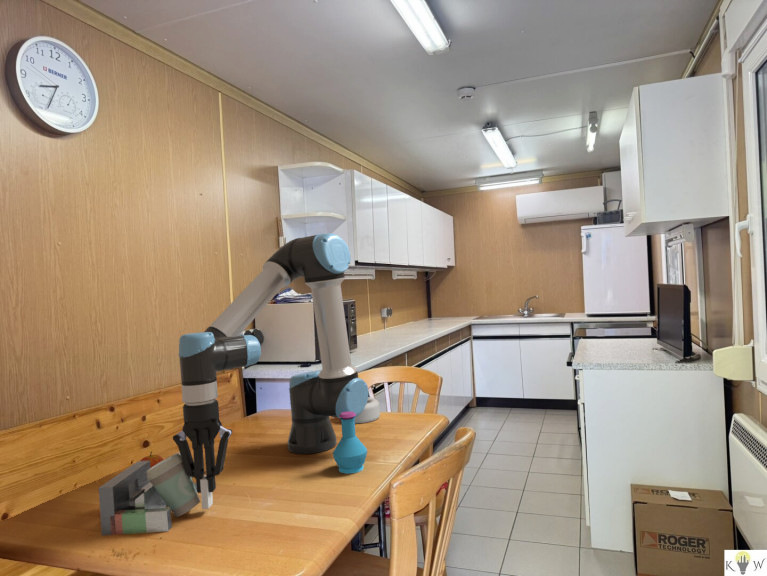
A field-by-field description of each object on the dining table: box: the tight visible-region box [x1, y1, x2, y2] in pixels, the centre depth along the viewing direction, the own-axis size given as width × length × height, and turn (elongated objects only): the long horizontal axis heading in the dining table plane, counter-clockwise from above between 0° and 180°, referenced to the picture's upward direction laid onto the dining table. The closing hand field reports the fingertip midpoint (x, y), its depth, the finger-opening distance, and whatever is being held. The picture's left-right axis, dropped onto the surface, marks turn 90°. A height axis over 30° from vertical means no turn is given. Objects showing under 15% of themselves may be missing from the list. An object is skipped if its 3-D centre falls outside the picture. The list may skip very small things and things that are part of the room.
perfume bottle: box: [332, 411, 368, 474], centre depth 133 cm, size 9×9×15 cm
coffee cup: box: [147, 451, 201, 518], centre depth 112 cm, size 8×9×12 cm
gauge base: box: [98, 460, 197, 536], centre depth 112 cm, size 14×16×10 cm
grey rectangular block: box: [129, 482, 168, 510], centre depth 111 cm, size 9×14×7 cm, turn 179°
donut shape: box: [354, 397, 381, 425], centre depth 185 cm, size 15×15×7 cm
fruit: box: [139, 451, 164, 468], centre depth 134 cm, size 7×7×8 cm
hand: (207, 506), depth 112 cm, fingers closed
